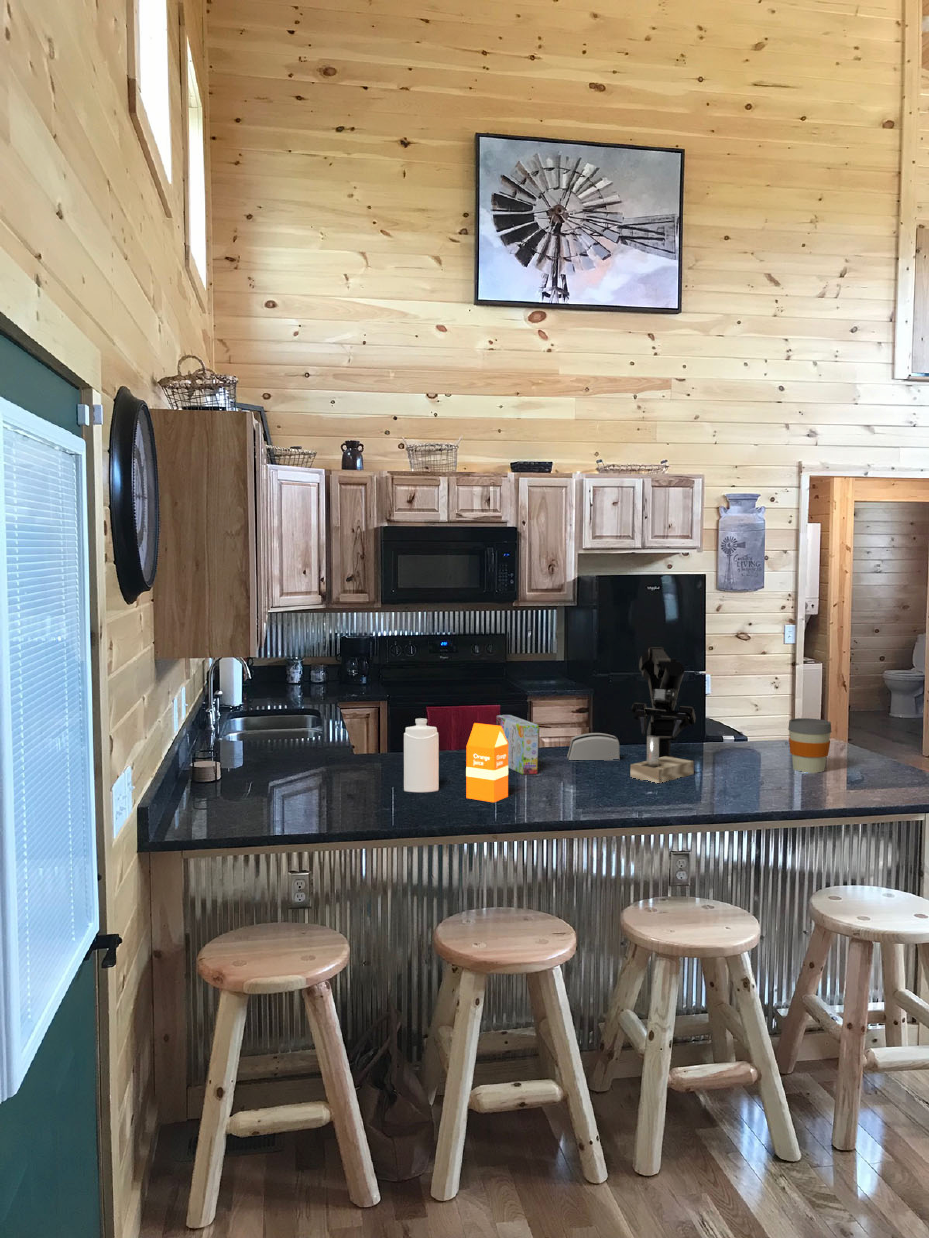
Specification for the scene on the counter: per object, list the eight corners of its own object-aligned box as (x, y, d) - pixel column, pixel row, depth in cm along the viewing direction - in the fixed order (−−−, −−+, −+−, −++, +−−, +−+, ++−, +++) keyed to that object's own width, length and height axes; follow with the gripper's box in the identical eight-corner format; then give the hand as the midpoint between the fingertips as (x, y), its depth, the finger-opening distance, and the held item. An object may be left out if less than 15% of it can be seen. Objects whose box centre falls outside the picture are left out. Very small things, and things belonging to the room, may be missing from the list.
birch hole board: (665, 768, 303) (665, 755, 303) (693, 774, 296) (693, 760, 296) (630, 777, 291) (630, 764, 291) (658, 783, 284) (658, 770, 283)
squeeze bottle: (403, 788, 277) (403, 792, 272) (403, 717, 276) (403, 721, 271) (438, 787, 278) (438, 792, 273) (438, 717, 276) (438, 720, 271)
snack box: (539, 774, 296) (539, 724, 295) (522, 775, 294) (522, 725, 293) (510, 760, 316) (510, 713, 315) (494, 761, 314) (494, 714, 313)
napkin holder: (615, 756, 321) (619, 730, 317) (619, 764, 317) (623, 737, 313) (565, 757, 319) (568, 731, 315) (568, 765, 315) (571, 738, 311)
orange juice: (493, 802, 262) (494, 728, 261) (465, 797, 267) (466, 724, 265) (508, 796, 269) (508, 723, 267) (480, 792, 273) (481, 720, 272)
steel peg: (650, 776, 292) (651, 735, 292) (660, 778, 290) (661, 736, 289) (644, 778, 290) (644, 736, 289) (653, 780, 288) (654, 738, 287)
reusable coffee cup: (817, 776, 294) (818, 726, 293) (779, 769, 303) (780, 721, 302) (838, 770, 302) (839, 721, 301) (800, 763, 311) (802, 716, 310)
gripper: (633, 676, 302) (622, 717, 293) (694, 680, 294) (684, 722, 285) (640, 698, 310) (629, 739, 301) (699, 702, 301) (690, 744, 292)
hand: (657, 736), depth 294 cm, fingers open, 9 cm apart
